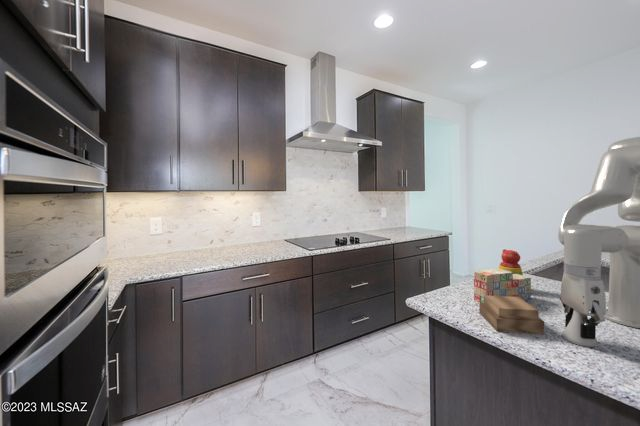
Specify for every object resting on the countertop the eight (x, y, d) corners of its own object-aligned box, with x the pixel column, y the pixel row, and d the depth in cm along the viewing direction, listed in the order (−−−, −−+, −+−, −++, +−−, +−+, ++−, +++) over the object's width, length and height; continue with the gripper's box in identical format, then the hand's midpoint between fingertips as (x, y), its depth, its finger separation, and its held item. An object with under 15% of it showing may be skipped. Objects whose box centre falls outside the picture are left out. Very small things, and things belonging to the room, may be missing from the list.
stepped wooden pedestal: (519, 315, 92) (520, 295, 91) (544, 334, 79) (544, 311, 78) (479, 313, 94) (479, 294, 94) (496, 331, 81) (496, 309, 81)
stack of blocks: (516, 294, 111) (516, 266, 110) (531, 300, 105) (531, 270, 104) (473, 300, 106) (473, 270, 106) (486, 306, 100) (486, 274, 99)
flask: (605, 347, 71) (606, 312, 71) (579, 348, 71) (580, 312, 71) (579, 334, 79) (580, 301, 78) (555, 334, 79) (556, 302, 78)
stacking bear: (531, 291, 113) (531, 251, 113) (512, 294, 111) (513, 253, 110) (508, 284, 124) (508, 247, 123) (490, 286, 122) (491, 248, 121)
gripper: (626, 280, 65) (623, 351, 66) (573, 263, 82) (572, 320, 82) (590, 279, 66) (588, 348, 67) (546, 263, 83) (545, 318, 84)
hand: (579, 332), depth 75 cm, fingers closed on flask, 4 cm apart
